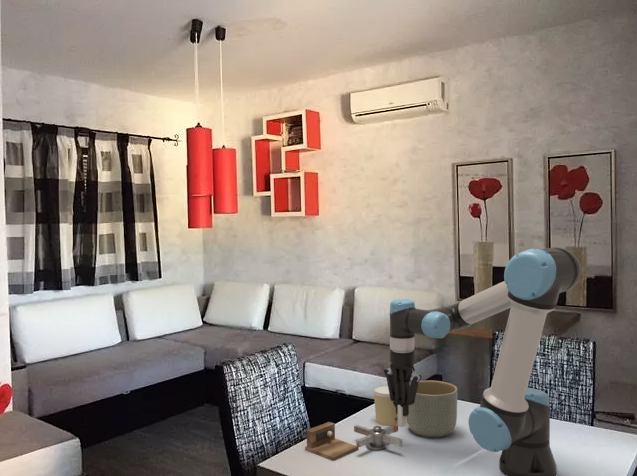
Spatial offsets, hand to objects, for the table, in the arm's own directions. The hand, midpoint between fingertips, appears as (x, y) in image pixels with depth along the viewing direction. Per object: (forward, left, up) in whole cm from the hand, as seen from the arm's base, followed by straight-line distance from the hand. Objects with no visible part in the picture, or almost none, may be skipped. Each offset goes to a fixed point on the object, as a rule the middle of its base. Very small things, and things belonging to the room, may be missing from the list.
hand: (402, 425), depth 182 cm
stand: (+10, +13, -7) cm, 17 cm away
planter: (+1, -16, -7) cm, 18 cm away
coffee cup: (+17, -13, -7) cm, 23 cm away
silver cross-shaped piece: (+5, +7, -6) cm, 10 cm away
